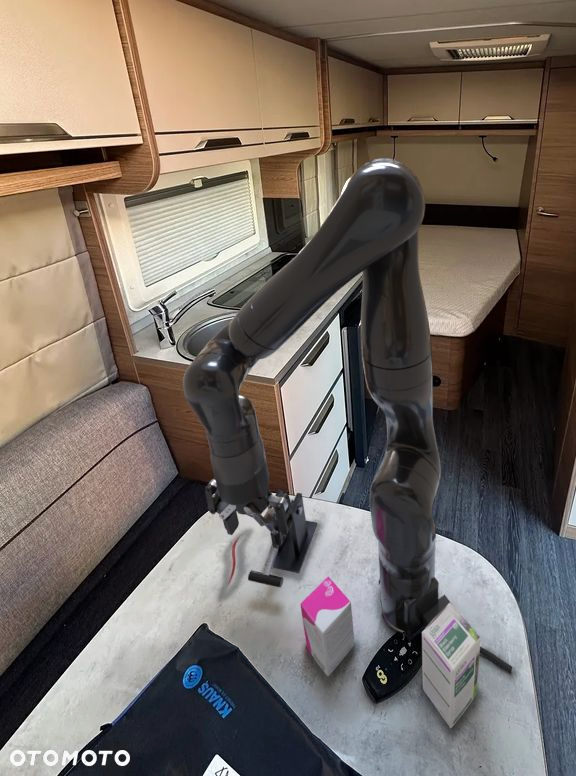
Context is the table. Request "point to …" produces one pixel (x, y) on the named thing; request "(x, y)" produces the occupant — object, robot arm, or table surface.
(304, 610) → the supplement box
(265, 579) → the lever
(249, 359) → the robot arm
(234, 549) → the cayenne pepper
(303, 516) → the bracket
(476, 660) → the syrup box
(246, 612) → the table surface
